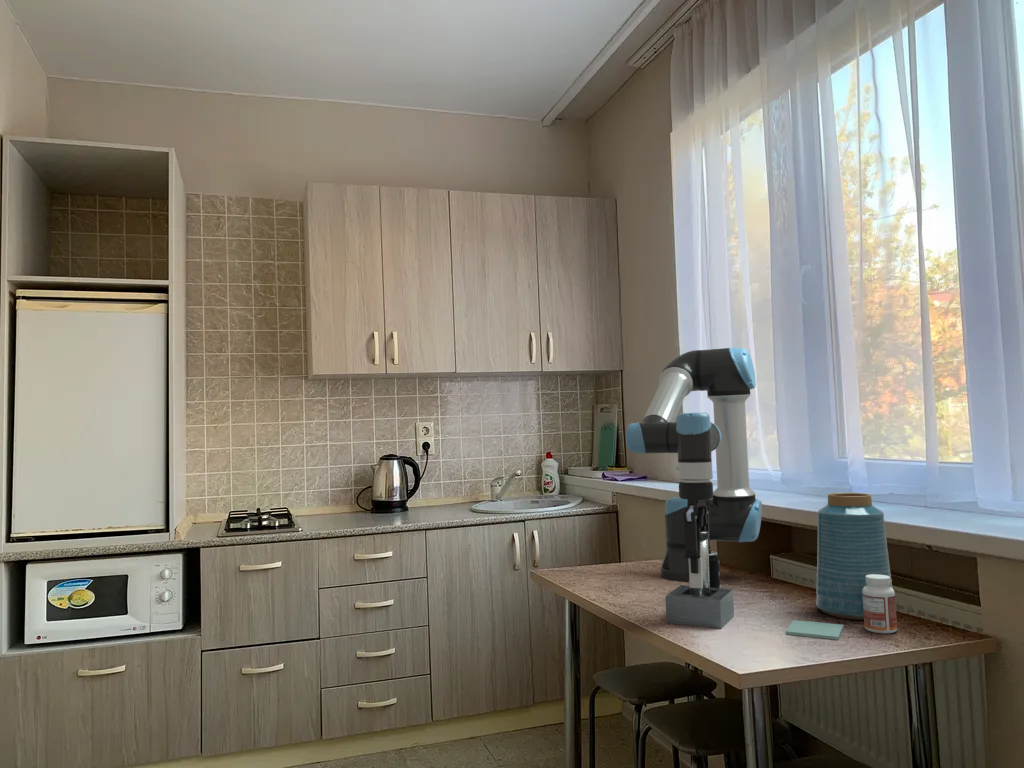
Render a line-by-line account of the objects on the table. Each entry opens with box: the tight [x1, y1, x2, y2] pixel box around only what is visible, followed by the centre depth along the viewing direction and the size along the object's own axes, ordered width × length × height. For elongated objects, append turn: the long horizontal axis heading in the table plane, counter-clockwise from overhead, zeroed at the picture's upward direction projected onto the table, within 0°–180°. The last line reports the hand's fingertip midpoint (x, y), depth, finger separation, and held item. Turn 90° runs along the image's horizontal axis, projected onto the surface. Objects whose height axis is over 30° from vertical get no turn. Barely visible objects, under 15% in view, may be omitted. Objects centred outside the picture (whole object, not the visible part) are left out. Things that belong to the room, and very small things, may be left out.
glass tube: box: [688, 530, 710, 596], centre depth 171 cm, size 5×5×16 cm
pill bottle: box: [862, 574, 898, 635], centre depth 158 cm, size 6×6×11 cm
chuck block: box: [665, 584, 735, 630], centre depth 170 cm, size 12×12×6 cm
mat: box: [785, 619, 844, 641], centre depth 158 cm, size 10×10×1 cm
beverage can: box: [709, 550, 721, 588], centre depth 187 cm, size 7×7×12 cm
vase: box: [815, 492, 894, 621], centre depth 174 cm, size 16×16×27 cm
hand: (699, 585), depth 170 cm, fingers closed on glass tube, 4 cm apart
